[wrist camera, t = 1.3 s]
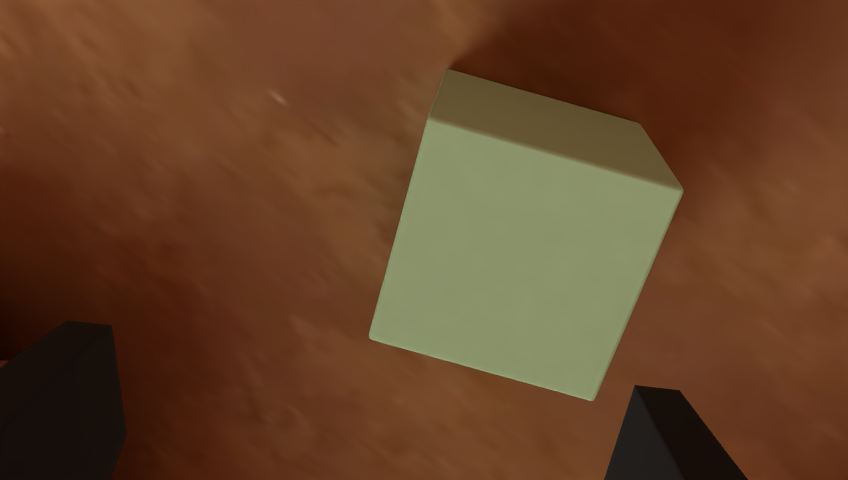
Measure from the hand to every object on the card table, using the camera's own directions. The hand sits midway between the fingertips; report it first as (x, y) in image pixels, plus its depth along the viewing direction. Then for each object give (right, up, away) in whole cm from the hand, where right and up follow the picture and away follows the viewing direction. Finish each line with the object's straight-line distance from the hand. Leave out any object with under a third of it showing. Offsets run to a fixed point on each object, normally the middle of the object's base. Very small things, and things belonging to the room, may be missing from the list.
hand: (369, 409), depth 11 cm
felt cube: (+3, +4, +9) cm, 10 cm away
